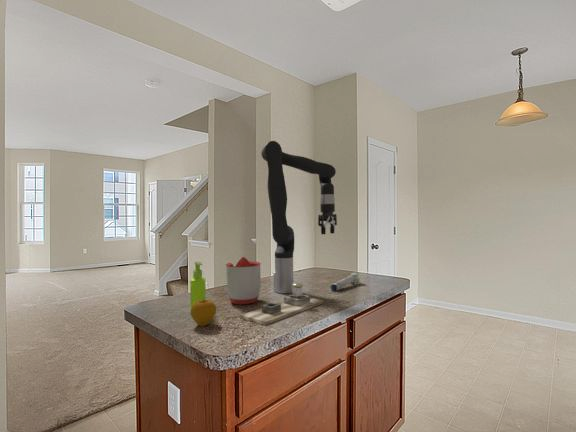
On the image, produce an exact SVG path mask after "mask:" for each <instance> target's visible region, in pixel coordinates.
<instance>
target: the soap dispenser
mask: <svg viewBox="0 0 576 432" xmlns="http://www.w3.org/2000/svg"><path fill="white" fill-rule="evenodd" d="M194 265H195V268H194V270H193V272H192V273H193V275H192V278H190V280H189V286H190V288H189V289H190V291H189V292H190V309H191V308H192V306H193V305H194V303H195V302H197V301H200V300H207V297H206V294H207V293H206V278H205V277H203V270H202V269H200V268H201V266H203V264H202V262H201V261H195V262H194Z"/></svg>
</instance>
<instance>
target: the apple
mask: <svg viewBox="0 0 576 432" xmlns="http://www.w3.org/2000/svg"><path fill="white" fill-rule="evenodd" d="M216 313H217V306H216V304H215V302H213V301H211V300H209V299H206V300H200V301H197V302H195V303H194V305H193V306H192V308H191V307H190V316H191V318H192V320H193V321H194V322H195V324H197V326H199V327H205V325H206V326H208V325H209V324H210V323H211V322H212V320H213V319H214V318H215V316H216Z"/></svg>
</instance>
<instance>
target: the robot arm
mask: <svg viewBox="0 0 576 432" xmlns="http://www.w3.org/2000/svg"><path fill="white" fill-rule="evenodd" d="M260 155H261V157H262V159H263V160H264V161H265V162H266V164H267V171H268V173H267V174H268V176H267V195H268V201H269V208H270V215H271V227H272V229H271V230H272V231H271V232H272V238H273V241H275V243H276V249H275V251H274V272H273V292H275V293H278V294H290V293H292V284H293V283H295V282H294V251H295V233H294V229H293V228H292V227H291V225H288V220H287V208H288V207H287V206H288V194H287V187H286V185H287V184H286V181H285V174H284V168H283V166H288V167H289V168H290V167H291V168H293V169H297V170H300V171H302V172H304V173H308V174H311V175H318V180H319V184H320V203H319V204H320V207H319V208H320V209H319V210H320V213H319V214H318V218H317V219H318V222H317V224H318V225H317V226H318V227H320V234H321V235H326V230H327V229H326V228H327V227H326V226H327V224H329V233H330V234H335V227H336V226H338V221H337V214H336V213H335V211H336V209H335V201H336V200H335V199H336V198H335V186H334V184H333V183H332V178H333V177H335V175H336V173H337V172H336V171H337V170H336V168H335V167H334V165H332V164H329V163H325V162H320V161H316V160H314V159H311V158H308V157H305V156H301V155H294V154H289V153H286V152H284V151H283V149H282V146H281V144H280V143H278V142H277V141H276V140H270V141H268V142H267V143H266V144H264V146H263V148H262V149H261V153H260ZM334 213H335V214H334Z"/></svg>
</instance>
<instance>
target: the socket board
mask: <svg viewBox="0 0 576 432" xmlns="http://www.w3.org/2000/svg"><path fill="white" fill-rule="evenodd" d="M322 304H324V299H318V298H313V297H311V296H310V295H306V294H302V298H300V299H295V298H292V294H290V295H286V296H284V299H283V300H282V301H280V302H276V303H275V302H267V303H265V304H262V305H261V308H258V309H254V310H251V311H249V312H245V313H241V314H240V319H243V320H246V321H248V322H253V323H255V324H260V325H264V326H267V325H270V324H272V323H275V322H278V321H280V320H283V319H286V318H287V317H291V316H294V315H296V314H300V313H301V312H303V311H306V310H309V309H311V308H314V307H317V306H319V305H322Z"/></svg>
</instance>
